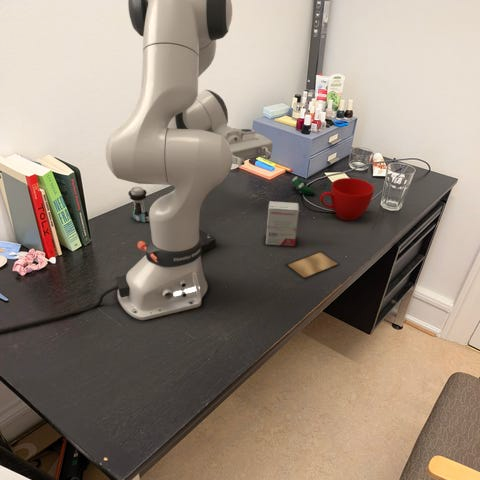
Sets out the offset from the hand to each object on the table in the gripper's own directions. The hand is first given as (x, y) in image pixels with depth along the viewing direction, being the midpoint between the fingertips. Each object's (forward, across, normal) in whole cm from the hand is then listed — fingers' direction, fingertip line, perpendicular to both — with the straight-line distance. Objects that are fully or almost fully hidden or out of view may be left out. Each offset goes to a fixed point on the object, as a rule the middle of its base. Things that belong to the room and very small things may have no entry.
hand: (256, 159), depth 127 cm
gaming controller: (-9, +28, +20) cm, 36 cm away
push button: (-19, -29, +20) cm, 40 cm away
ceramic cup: (+12, +27, +20) cm, 36 cm away
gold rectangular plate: (+29, 0, +20) cm, 35 cm away
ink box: (+14, 0, +20) cm, 25 cm away
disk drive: (0, -24, +20) cm, 31 cm away
